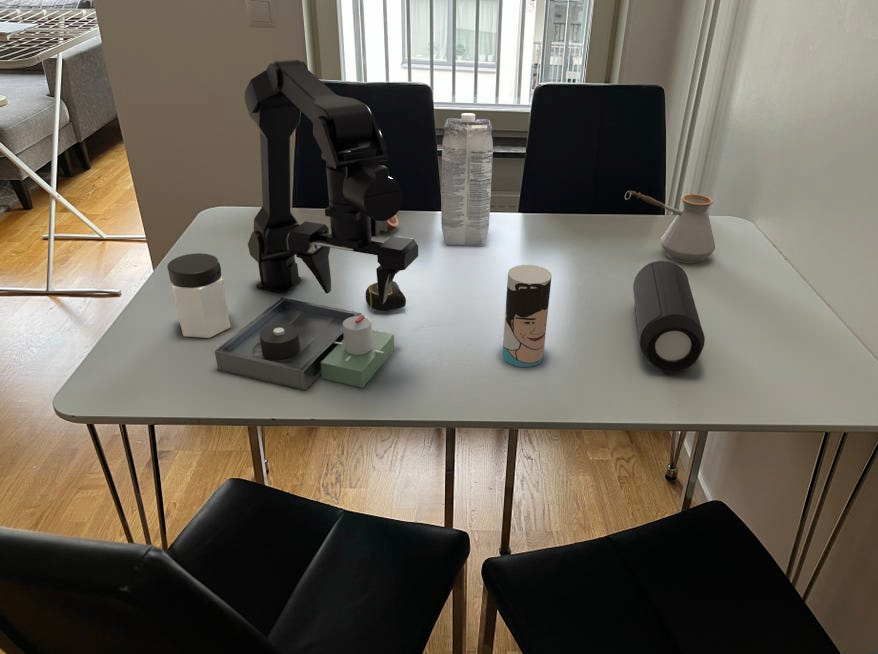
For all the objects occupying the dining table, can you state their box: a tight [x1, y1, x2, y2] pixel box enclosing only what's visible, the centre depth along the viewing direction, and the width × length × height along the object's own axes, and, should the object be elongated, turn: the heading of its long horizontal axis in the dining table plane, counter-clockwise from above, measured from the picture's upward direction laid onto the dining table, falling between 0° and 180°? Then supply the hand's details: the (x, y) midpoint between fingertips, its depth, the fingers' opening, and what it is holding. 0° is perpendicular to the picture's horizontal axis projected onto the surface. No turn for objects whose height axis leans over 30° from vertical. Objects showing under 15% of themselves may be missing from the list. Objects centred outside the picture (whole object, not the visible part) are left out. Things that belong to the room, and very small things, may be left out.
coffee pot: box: [624, 190, 716, 264], centre depth 149 cm, size 21×12×15 cm, turn 97°
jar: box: [166, 252, 231, 339], centre depth 119 cm, size 9×8×12 cm
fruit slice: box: [380, 214, 400, 232], centre depth 160 cm, size 8×7×5 cm
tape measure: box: [364, 280, 407, 312], centre depth 129 cm, size 7×7×4 cm
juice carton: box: [440, 112, 494, 247], centre depth 151 cm, size 9×10×27 cm
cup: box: [502, 264, 553, 368], centre depth 113 cm, size 7×7×15 cm
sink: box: [231, 308, 344, 368], centre depth 116 cm, size 14×18×2 cm
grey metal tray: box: [214, 296, 363, 391], centre depth 116 cm, size 16×20×4 cm
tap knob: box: [343, 314, 373, 355], centre depth 110 cm, size 4×4×5 cm
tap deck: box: [321, 329, 395, 389], centre depth 113 cm, size 9×12×3 cm
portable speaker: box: [632, 259, 706, 373], centre depth 121 cm, size 26×10×10 cm, turn 172°
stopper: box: [260, 324, 300, 359], centre depth 112 cm, size 6×6×5 cm
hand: (355, 297), depth 107 cm, fingers open, 9 cm apart
